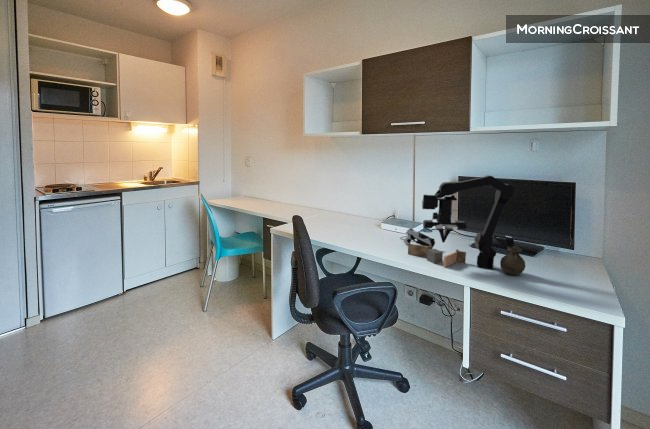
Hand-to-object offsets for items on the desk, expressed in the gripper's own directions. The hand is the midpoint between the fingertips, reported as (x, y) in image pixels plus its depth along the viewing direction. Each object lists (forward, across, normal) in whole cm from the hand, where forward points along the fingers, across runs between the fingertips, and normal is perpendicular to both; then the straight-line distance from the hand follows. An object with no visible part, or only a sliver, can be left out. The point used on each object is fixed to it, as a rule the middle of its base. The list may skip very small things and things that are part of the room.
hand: (443, 242), depth 162 cm
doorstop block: (+11, +3, -3) cm, 12 cm away
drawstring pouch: (+11, -28, +9) cm, 31 cm away
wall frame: (+11, +2, -8) cm, 14 cm away
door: (+10, -4, +1) cm, 11 cm away
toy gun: (+11, +7, -28) cm, 31 cm away
